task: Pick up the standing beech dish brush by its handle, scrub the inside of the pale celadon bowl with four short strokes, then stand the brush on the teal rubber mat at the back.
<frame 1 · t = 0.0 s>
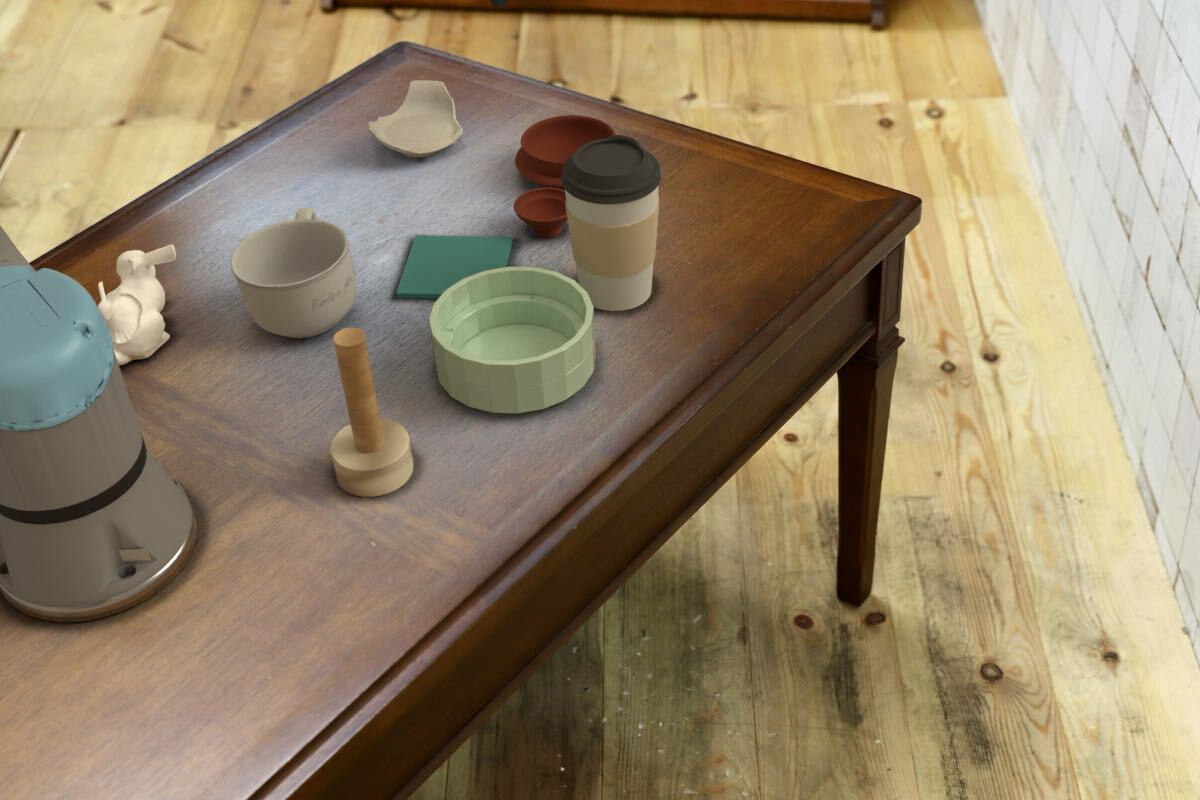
pottery shard: (421, 146, 155), on the table
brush: (375, 470, 114), on the table
mat: (456, 269, 136), on the table
bowl: (516, 366, 124), on the table
pottery: (561, 196, 146), on the table
rabbit figurine: (152, 339, 129), on the table
coffee cup: (615, 291, 132), on the table
teacup: (310, 310, 132), on the table
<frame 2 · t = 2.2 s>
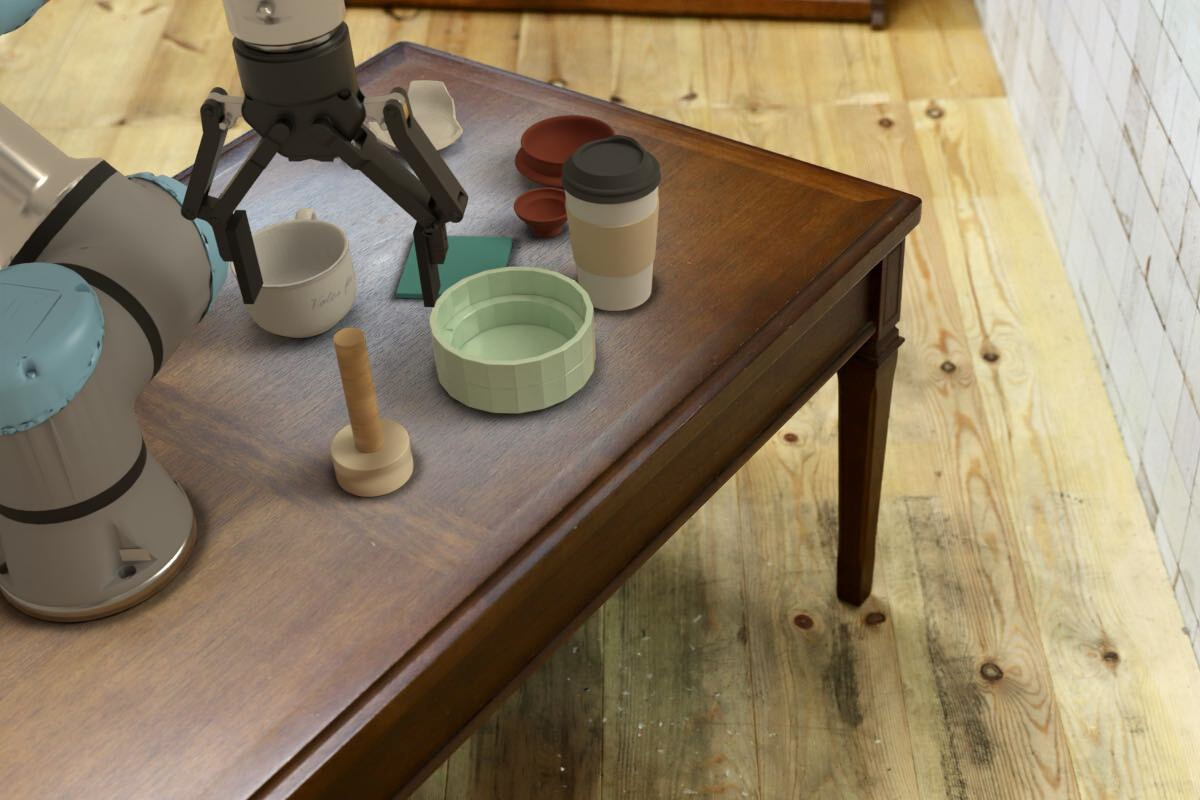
hand: (342, 295, 103), 18 cm above the table, tool pointing down, fingers open, 13 cm apart
nothing on the table moved.
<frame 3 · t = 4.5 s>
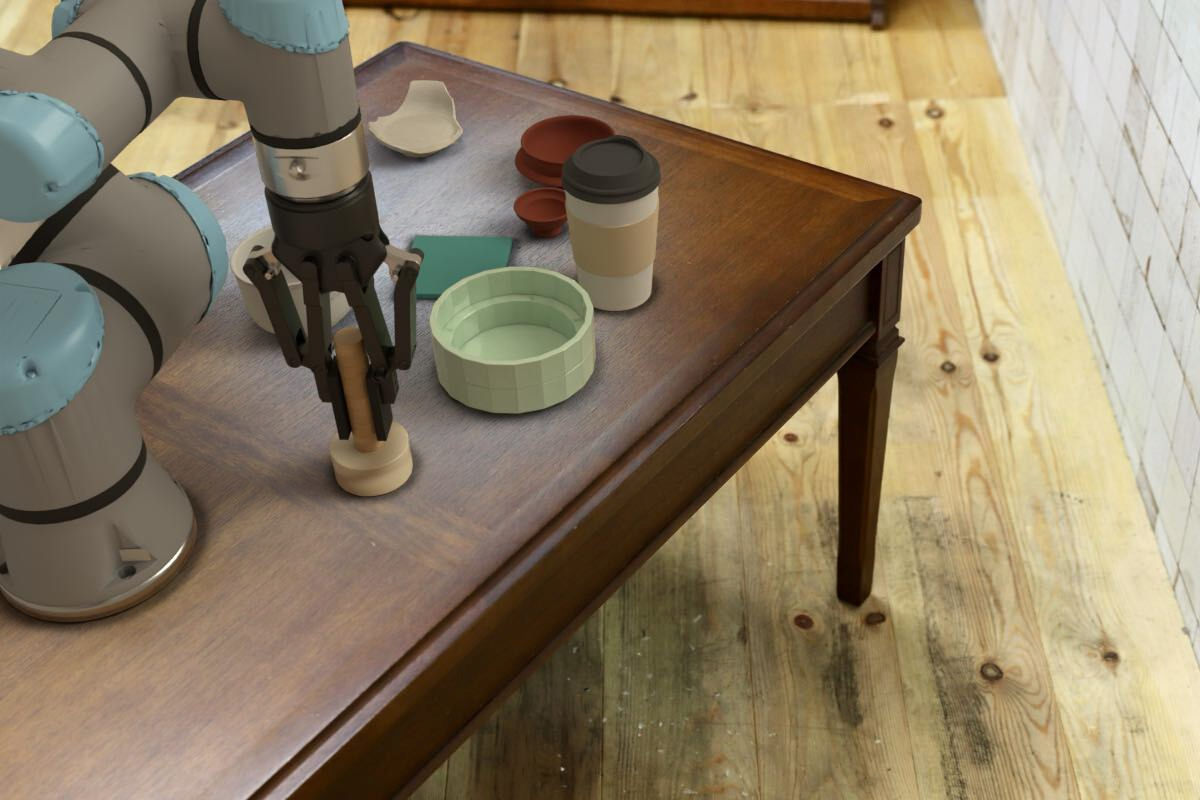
hand: (366, 428, 111), 5 cm above the table, tool pointing down, fingers closed on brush, 2 cm apart
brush: (374, 469, 114), on the table, touching gripper
everything else where it was.
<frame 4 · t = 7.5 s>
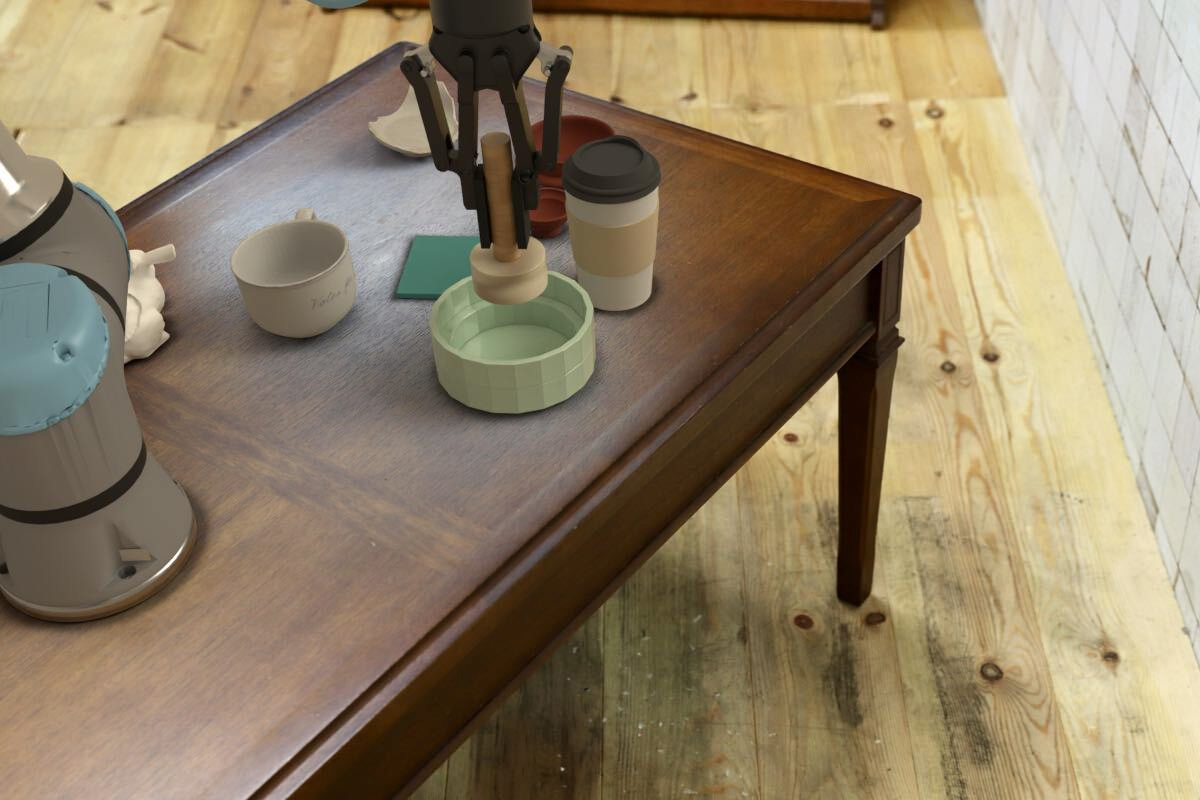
hand: (506, 239, 115), 14 cm above the table, tool pointing down, fingers closed on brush, 2 cm apart
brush: (510, 283, 118), point 9 cm above the table, touching gripper
everything else where it was.
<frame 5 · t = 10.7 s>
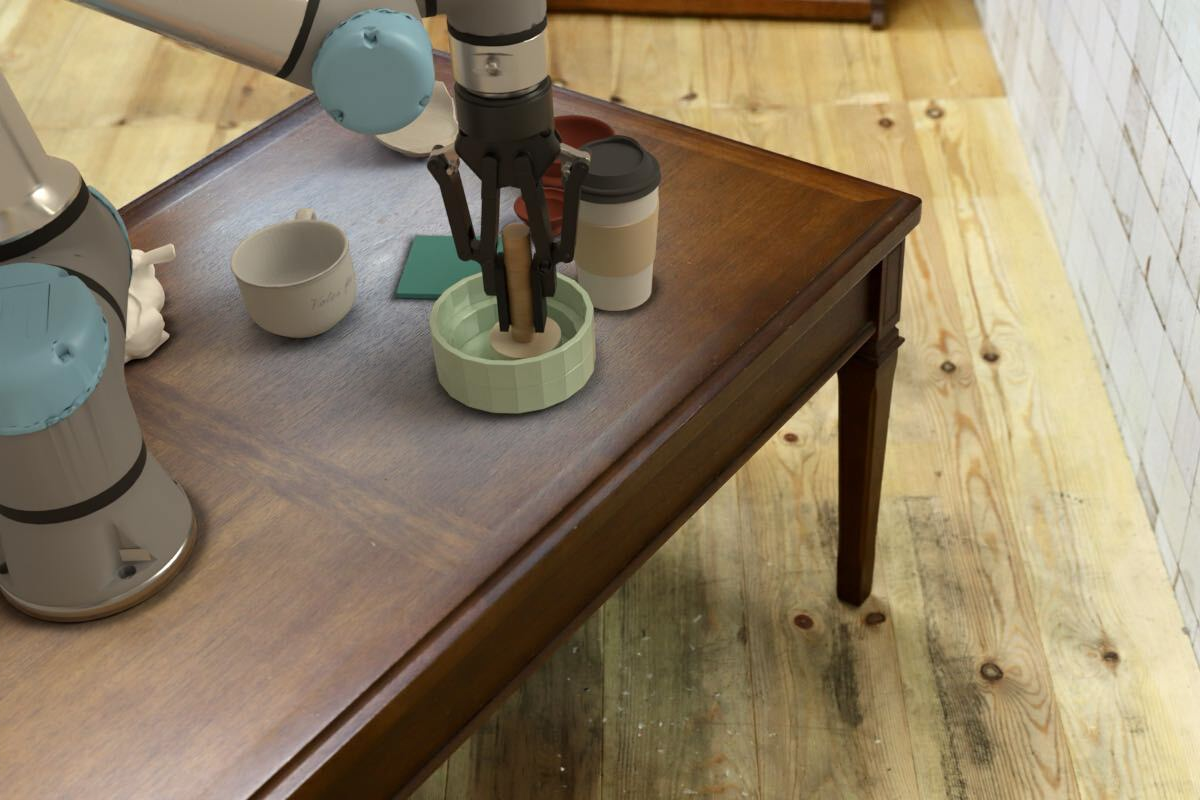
hand: (523, 322, 120), 5 cm above the table, tool pointing down, fingers closed on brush, 2 cm apart
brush: (527, 360, 123), point 1 cm above the table, touching gripper
everything else where it was.
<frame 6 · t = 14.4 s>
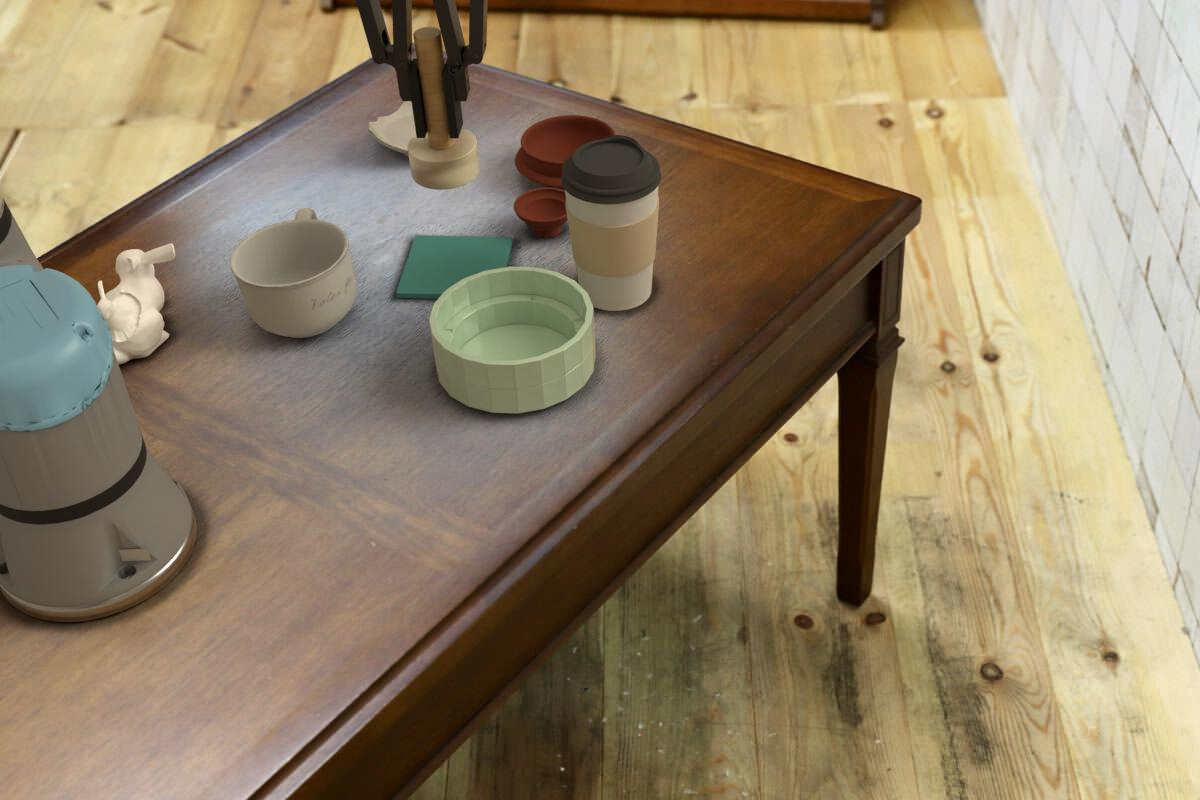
hand: (440, 130, 126), 15 cm above the table, tool pointing down, fingers closed on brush, 2 cm apart
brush: (445, 171, 129), point 11 cm above the table, touching gripper
everything else where it was.
when the fingers open (5 cm above the table, at t = 16.9 s): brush stays where it is, resting on mat.
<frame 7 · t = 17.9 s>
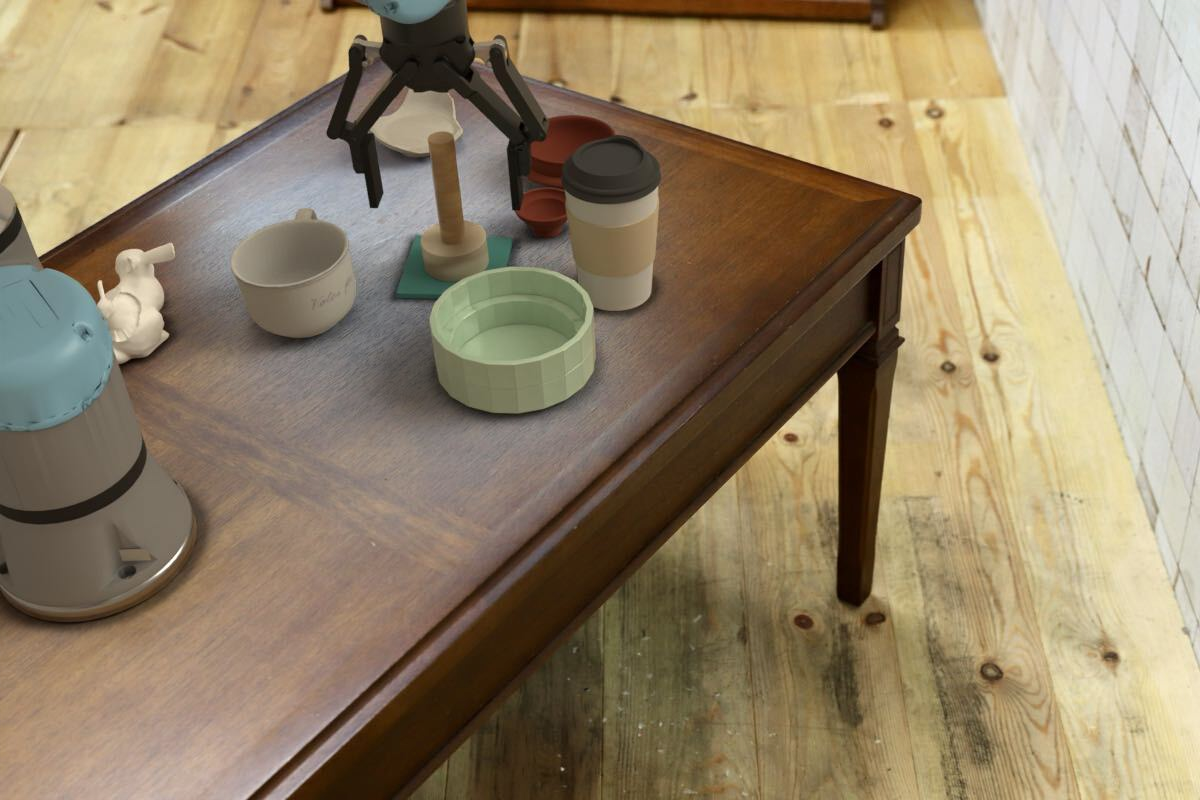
hand: (447, 202, 131), 8 cm above the table, tool pointing down, fingers open, 13 cm apart
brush: (456, 263, 136), point 1 cm above the table, touching mat
everything else where it was.
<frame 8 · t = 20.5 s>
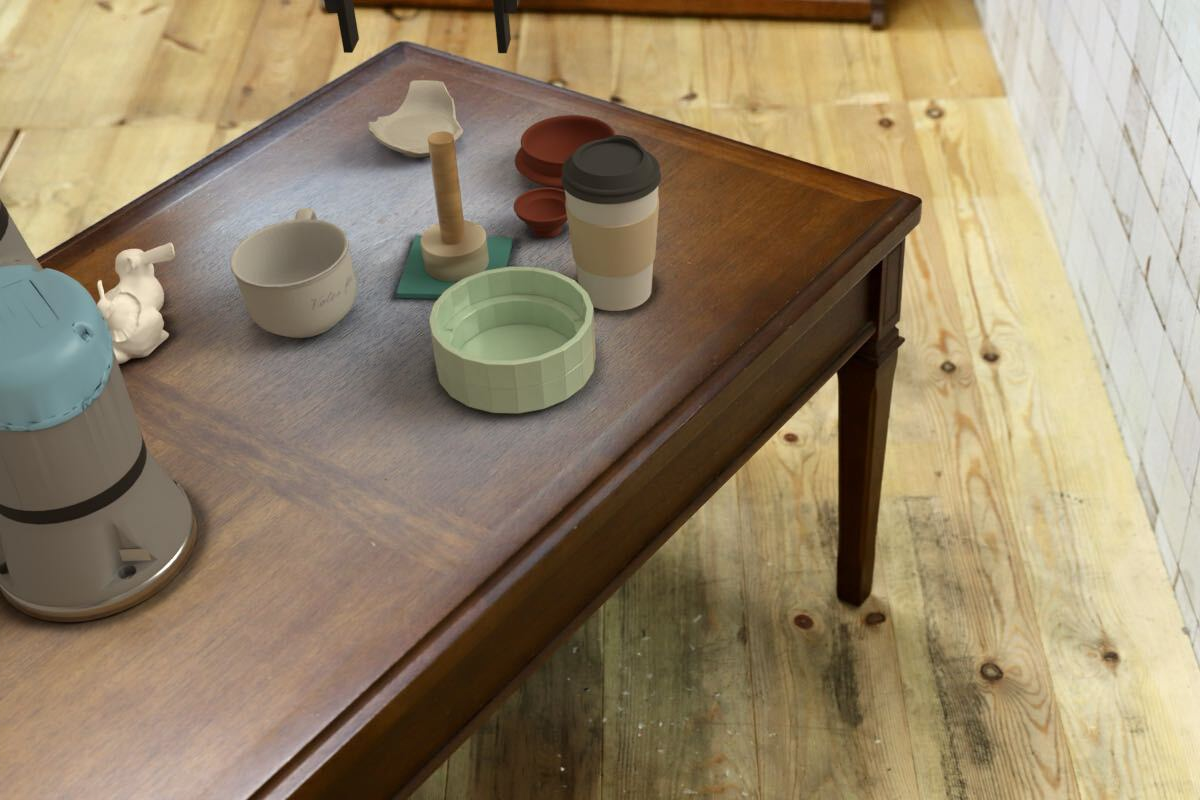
hand: (427, 46, 121), 24 cm above the table, tool pointing down, fingers open, 13 cm apart
nothing on the table moved.
at the end: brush inside the target area on the mat (0.2 cm from its centre), point 0.6 cm above the mat's base; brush tilted 0°; the gripper is holding nothing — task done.
